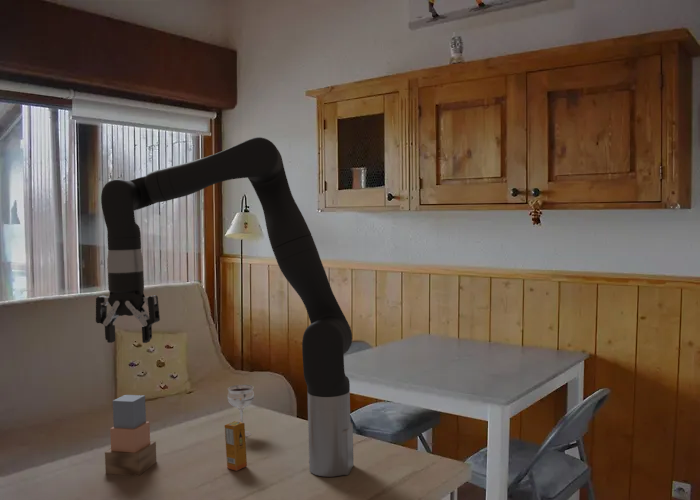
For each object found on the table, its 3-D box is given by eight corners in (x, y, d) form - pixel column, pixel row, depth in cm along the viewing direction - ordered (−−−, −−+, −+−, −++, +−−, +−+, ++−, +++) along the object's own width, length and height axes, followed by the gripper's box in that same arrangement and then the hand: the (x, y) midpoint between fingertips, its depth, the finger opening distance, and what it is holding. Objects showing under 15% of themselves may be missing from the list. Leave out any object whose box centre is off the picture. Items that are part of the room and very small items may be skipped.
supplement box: (236, 463, 149) (235, 420, 148) (247, 467, 146) (246, 422, 146) (225, 468, 146) (224, 423, 145) (236, 471, 144) (234, 426, 143)
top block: (150, 443, 149) (149, 421, 149) (134, 452, 143) (134, 430, 143) (127, 441, 151) (126, 420, 151) (111, 450, 145) (110, 428, 145)
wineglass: (223, 436, 167) (222, 390, 167) (237, 428, 173) (235, 383, 173) (247, 439, 165) (245, 392, 164) (259, 431, 171) (258, 385, 171)
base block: (156, 462, 151) (155, 441, 151) (139, 476, 143) (138, 453, 143) (124, 461, 152) (123, 440, 152) (105, 474, 144) (104, 452, 144)
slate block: (146, 421, 149) (144, 395, 149) (134, 428, 144) (133, 401, 144) (126, 420, 150) (125, 394, 150) (113, 427, 145) (112, 400, 145)
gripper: (163, 268, 148) (166, 339, 149) (105, 268, 151) (108, 338, 152) (146, 271, 141) (149, 345, 142) (86, 271, 144) (90, 345, 145)
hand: (128, 342), depth 147 cm, fingers open, 8 cm apart
